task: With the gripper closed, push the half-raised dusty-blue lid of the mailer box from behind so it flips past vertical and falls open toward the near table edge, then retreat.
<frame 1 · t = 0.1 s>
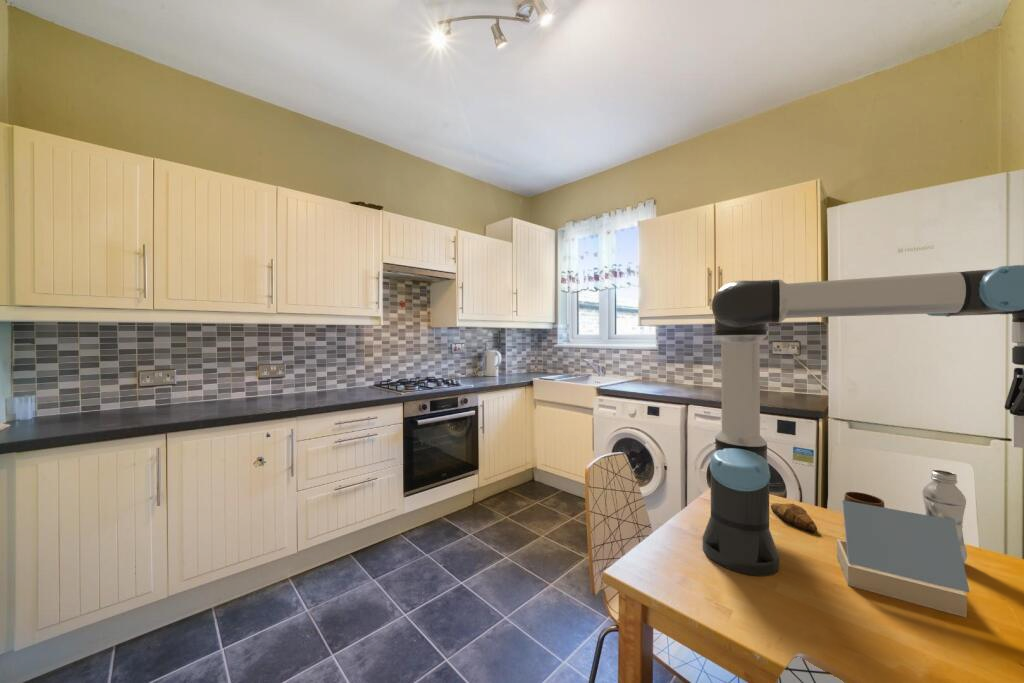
plastic bottle: (943, 561, 83), on the table
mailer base: (893, 583, 75), on the table
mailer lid: (899, 542, 72), point 10 cm above the table, hinge at 60.0°
mug: (872, 539, 92), on the table
croissant: (792, 522, 101), on the table
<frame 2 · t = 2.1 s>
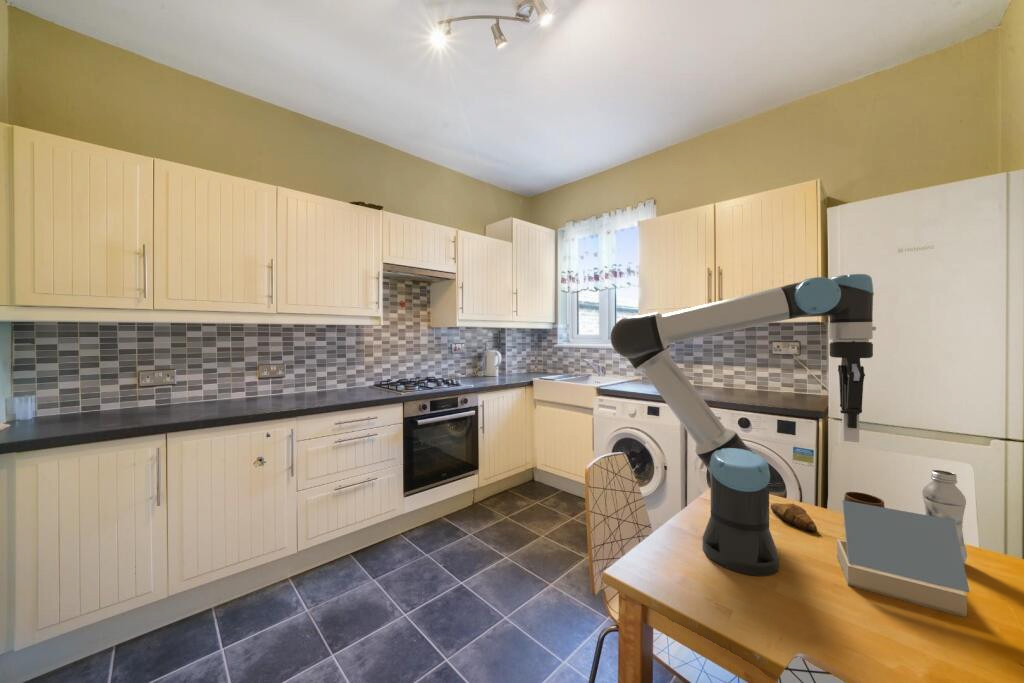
hand: (850, 440, 86), 26 cm above the table, fingers closed
nothing on the table moved.
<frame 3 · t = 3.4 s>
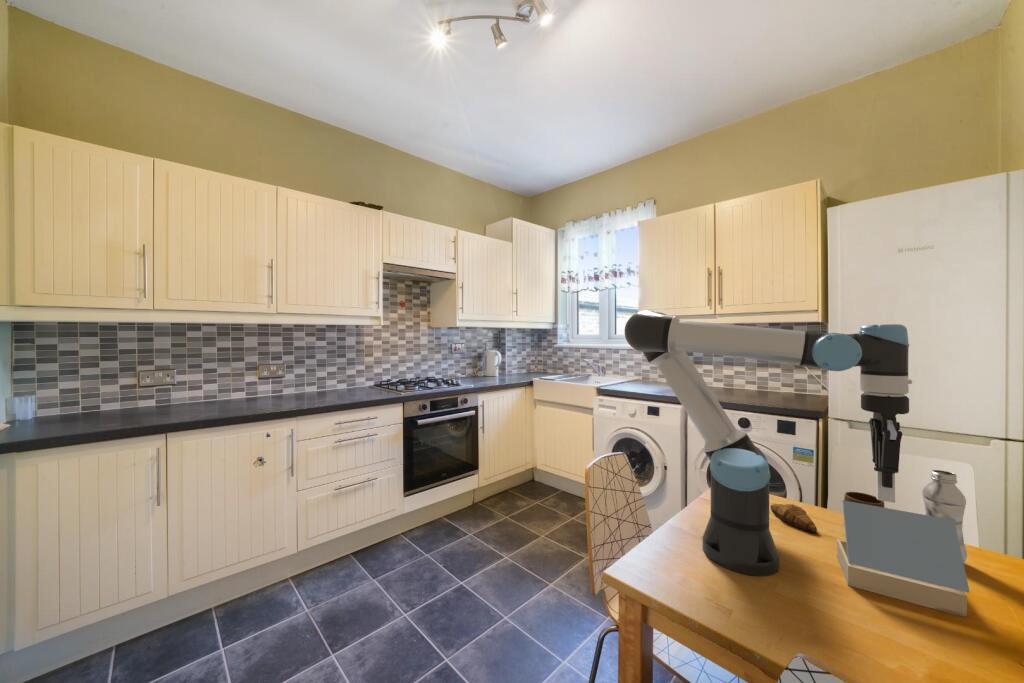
hand: (885, 500, 81), 15 cm above the table, fingers closed
nothing on the table moved.
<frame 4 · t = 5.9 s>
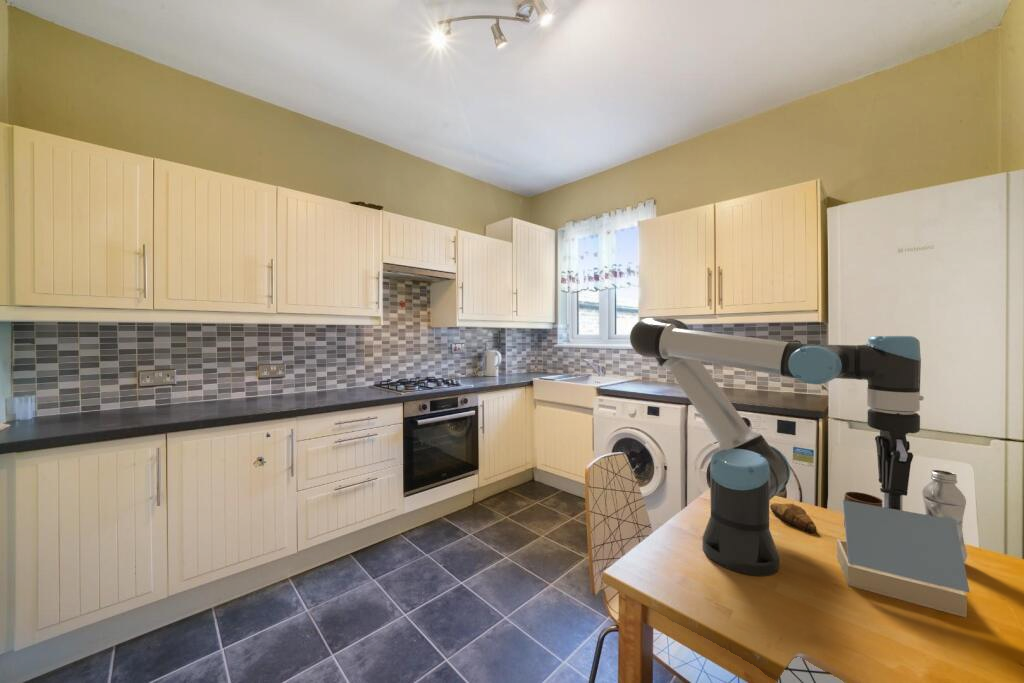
hand: (892, 523, 76), 12 cm above the table, fingers closed
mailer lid: (900, 542, 72), point 10 cm above the table, hinge at 62.5°, touching gripper
everything else where it was.
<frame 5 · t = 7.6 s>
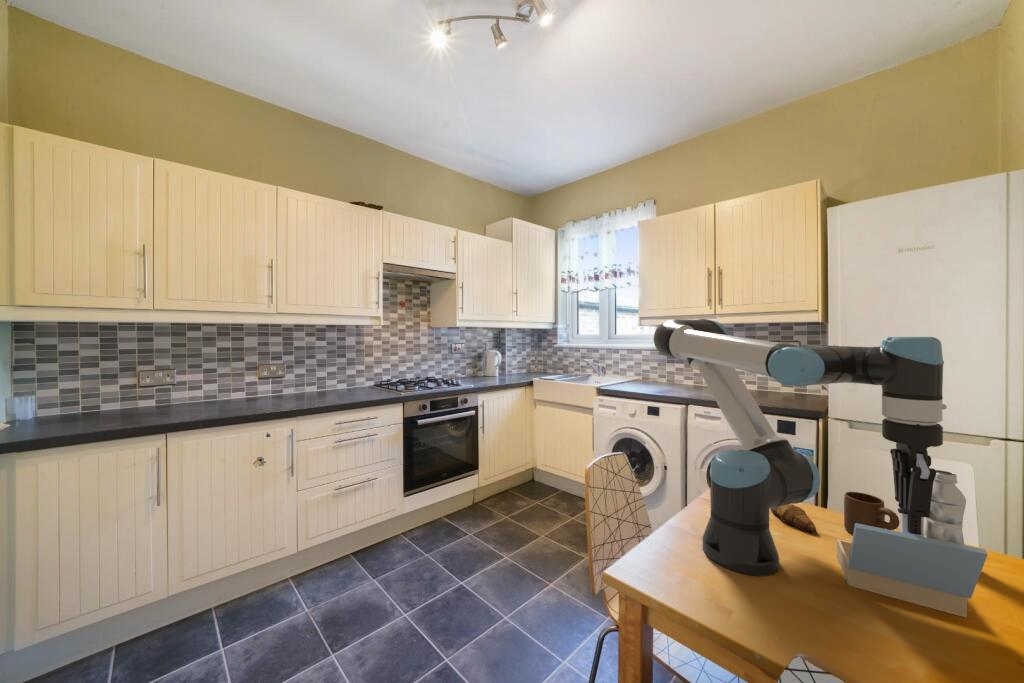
hand: (911, 547, 67), 12 cm above the table, fingers closed
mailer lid: (910, 559, 67), point 10 cm above the table, hinge at 117.4°, touching gripper
everything else where it was.
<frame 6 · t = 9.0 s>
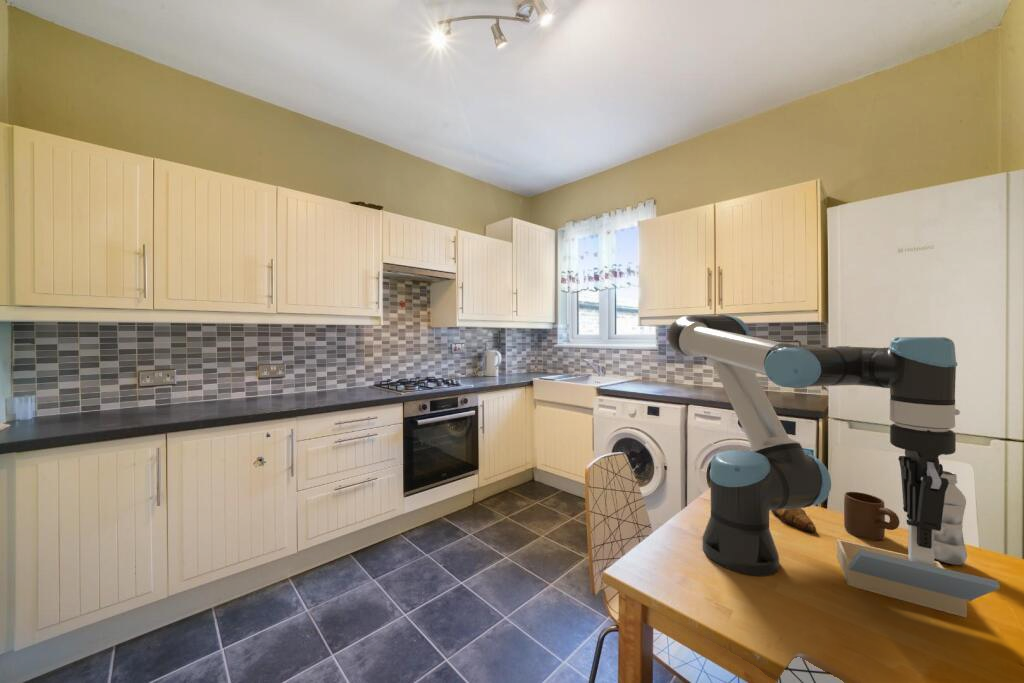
hand: (920, 562, 63), 12 cm above the table, fingers closed
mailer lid: (914, 574, 66), point 8 cm above the table, hinge at 140.8°, touching gripper
everything else where it was.
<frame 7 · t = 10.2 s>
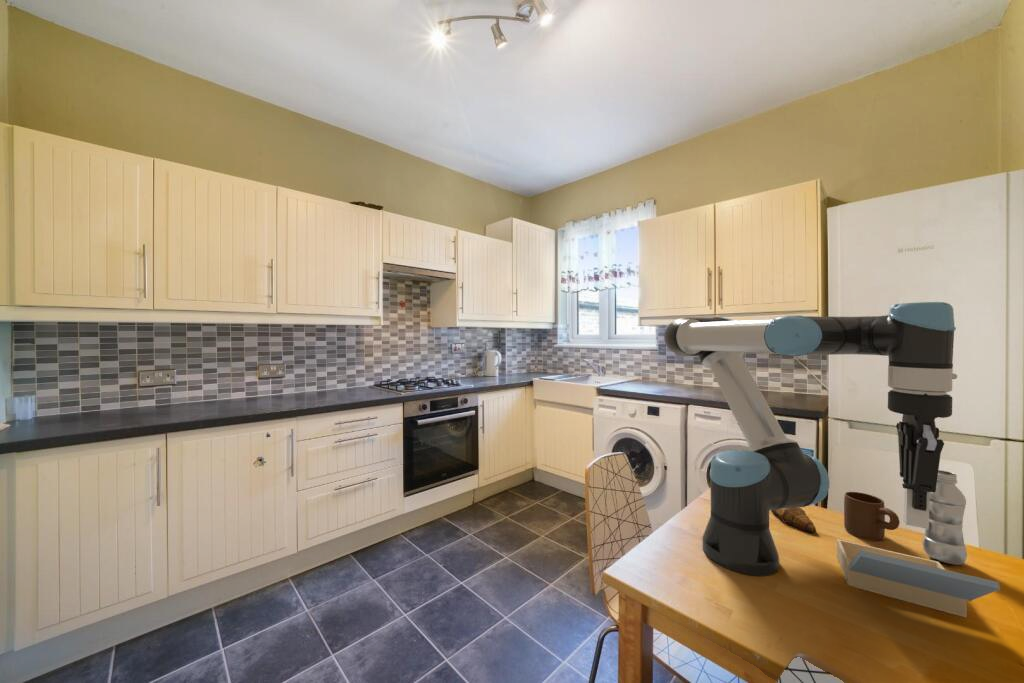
hand: (915, 524, 64), 18 cm above the table, fingers closed
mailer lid: (914, 575, 66), point 8 cm above the table, hinge at 141.4°
everything else where it was.
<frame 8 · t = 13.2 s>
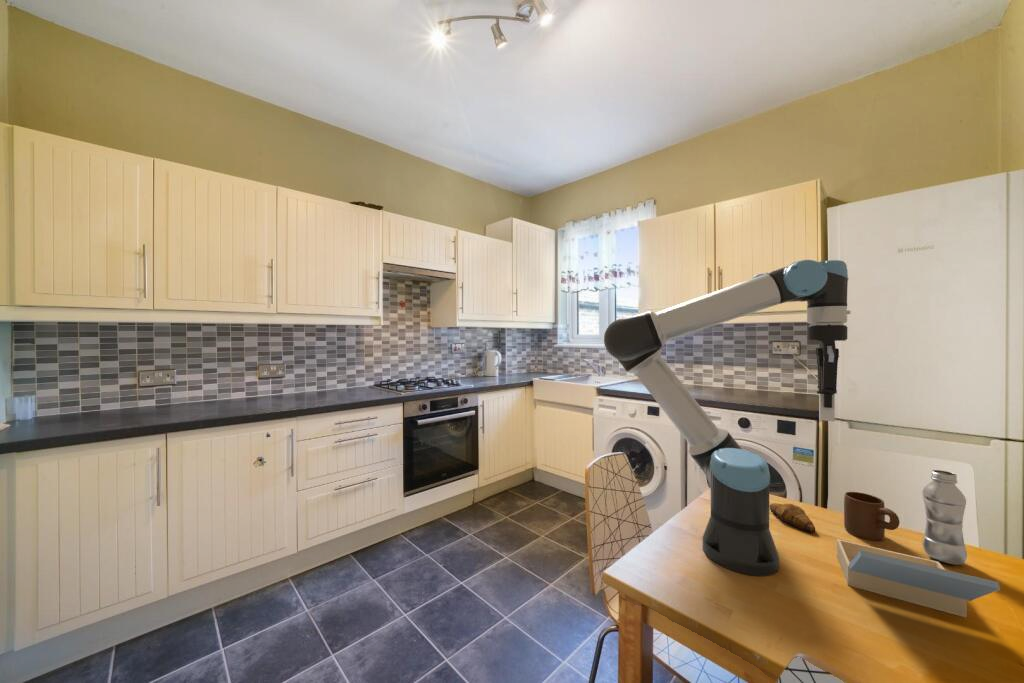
hand: (826, 420, 90), 30 cm above the table, fingers closed
nothing on the table moved.
at the end: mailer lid at +141° (first picture: +60°); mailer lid touching nothing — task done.
